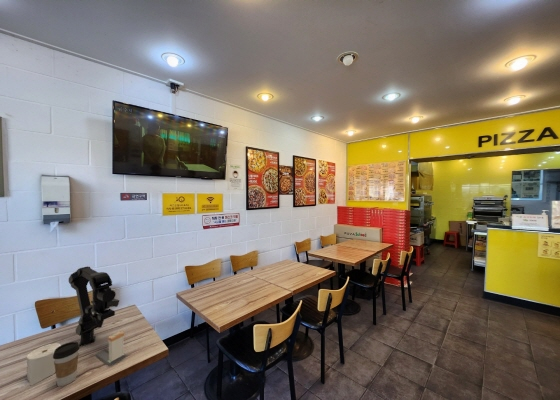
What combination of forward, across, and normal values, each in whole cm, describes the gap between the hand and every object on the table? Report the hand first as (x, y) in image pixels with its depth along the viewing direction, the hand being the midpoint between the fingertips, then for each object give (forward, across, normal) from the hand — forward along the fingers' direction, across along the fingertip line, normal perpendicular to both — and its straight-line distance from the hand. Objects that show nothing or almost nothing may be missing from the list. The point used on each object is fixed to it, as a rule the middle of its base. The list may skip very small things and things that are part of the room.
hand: (100, 327), depth 115 cm
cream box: (+10, -17, 0) cm, 19 cm away
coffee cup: (+12, -10, +16) cm, 23 cm away
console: (+12, -11, 0) cm, 16 cm away
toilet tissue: (+12, +4, +19) cm, 23 cm away
